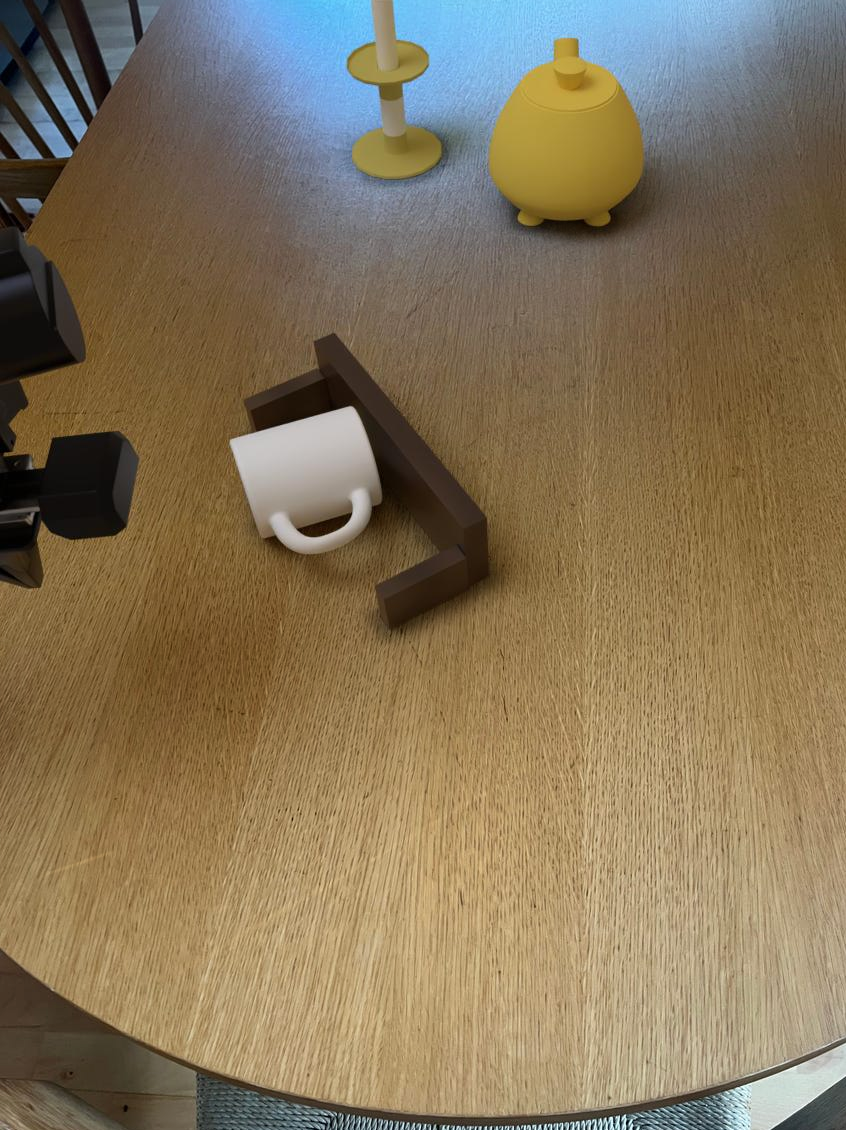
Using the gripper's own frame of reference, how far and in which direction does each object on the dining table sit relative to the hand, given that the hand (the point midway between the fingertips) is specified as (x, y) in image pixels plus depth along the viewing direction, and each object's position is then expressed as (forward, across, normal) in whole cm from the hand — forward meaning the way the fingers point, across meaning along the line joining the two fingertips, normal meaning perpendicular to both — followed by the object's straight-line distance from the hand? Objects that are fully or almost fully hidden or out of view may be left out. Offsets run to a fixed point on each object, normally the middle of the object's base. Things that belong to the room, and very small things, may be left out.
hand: (36, 582), depth 64 cm
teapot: (+16, -38, -58) cm, 72 cm away
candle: (+15, -20, -66) cm, 71 cm away
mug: (+14, -14, -14) cm, 24 cm away
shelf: (+14, -18, -16) cm, 28 cm away
